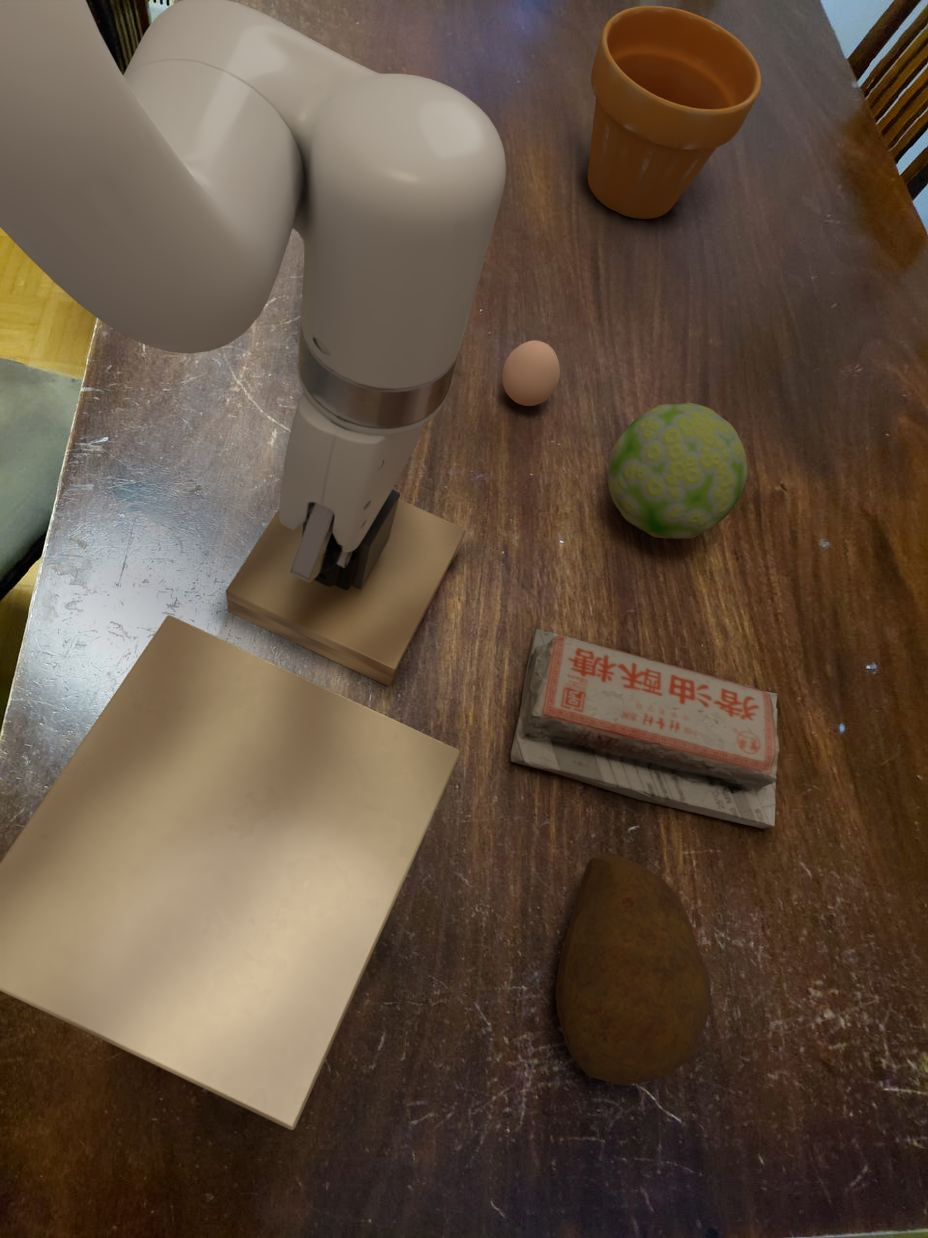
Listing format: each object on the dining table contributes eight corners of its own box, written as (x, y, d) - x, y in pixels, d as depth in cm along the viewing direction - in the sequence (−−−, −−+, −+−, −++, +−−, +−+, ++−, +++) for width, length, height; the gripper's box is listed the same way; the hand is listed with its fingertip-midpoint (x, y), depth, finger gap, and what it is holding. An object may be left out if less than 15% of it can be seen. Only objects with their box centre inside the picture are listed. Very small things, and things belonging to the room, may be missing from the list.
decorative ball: (704, 579, 70) (767, 507, 61) (580, 540, 69) (624, 461, 60) (718, 479, 74) (777, 398, 65) (601, 441, 74) (645, 355, 65)
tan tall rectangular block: (115, 1025, 49) (-67, 959, 23) (219, 839, 55) (167, 612, 28) (283, 1106, 49) (293, 1131, 23) (371, 911, 54) (462, 750, 28)
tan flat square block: (227, 611, 61) (225, 590, 59) (309, 482, 67) (311, 457, 64) (389, 687, 61) (395, 669, 58) (458, 551, 67) (466, 529, 64)
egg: (496, 415, 73) (512, 366, 68) (495, 372, 75) (511, 321, 70) (550, 421, 74) (570, 373, 69) (548, 379, 76) (567, 329, 71)
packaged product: (523, 742, 56) (548, 603, 60) (505, 766, 60) (530, 635, 65) (801, 815, 57) (805, 673, 62) (765, 834, 61) (771, 700, 66)
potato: (696, 905, 58) (761, 878, 50) (661, 1109, 52) (728, 1114, 45) (571, 860, 58) (617, 827, 50) (523, 1061, 52) (565, 1057, 45)
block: (299, 561, 59) (303, 514, 55) (329, 511, 62) (336, 462, 57) (360, 590, 59) (370, 546, 54) (389, 539, 62) (400, 492, 57)
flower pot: (590, 118, 92) (634, -18, 81) (717, 178, 92) (780, 50, 80) (537, 196, 86) (578, 60, 74) (674, 262, 85) (736, 135, 74)
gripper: (381, 220, 48) (350, 434, 64) (218, 443, 40) (229, 625, 56) (510, 280, 48) (446, 479, 64) (373, 516, 40) (340, 677, 56)
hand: (345, 545), depth 60 cm, fingers closed on block, 4 cm apart
